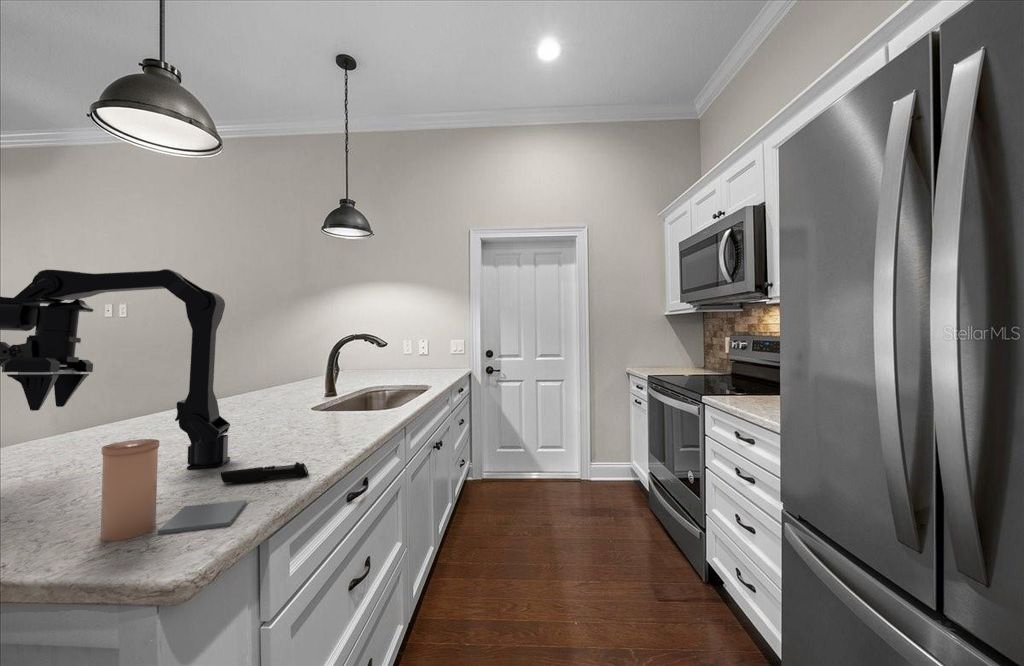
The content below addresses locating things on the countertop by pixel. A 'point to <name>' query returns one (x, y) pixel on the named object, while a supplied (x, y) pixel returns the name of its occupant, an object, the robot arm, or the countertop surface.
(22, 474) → the countertop surface
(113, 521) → the tumbler
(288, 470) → the electric trimmer
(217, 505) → the coaster
